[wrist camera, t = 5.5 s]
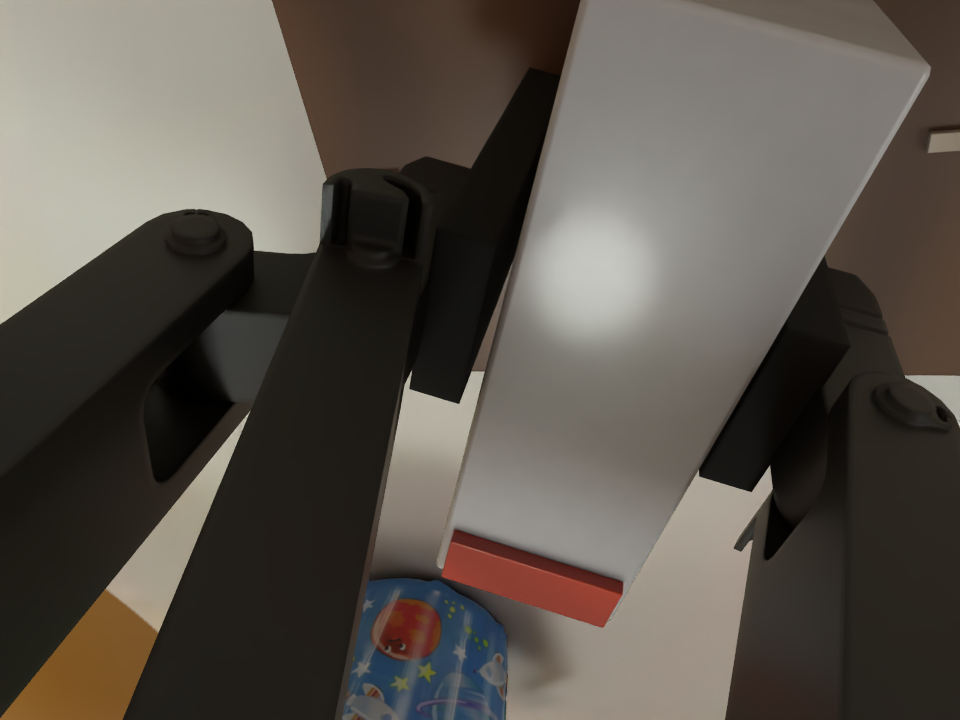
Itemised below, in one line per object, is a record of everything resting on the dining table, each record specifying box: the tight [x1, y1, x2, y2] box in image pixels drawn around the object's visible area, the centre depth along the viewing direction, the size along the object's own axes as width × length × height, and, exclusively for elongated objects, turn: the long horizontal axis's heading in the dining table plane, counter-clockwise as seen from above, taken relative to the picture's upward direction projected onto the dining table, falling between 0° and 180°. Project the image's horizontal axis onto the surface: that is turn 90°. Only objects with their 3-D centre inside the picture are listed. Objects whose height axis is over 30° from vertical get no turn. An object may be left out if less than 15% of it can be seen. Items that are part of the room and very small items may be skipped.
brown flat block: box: [272, 0, 960, 376], centre depth 16 cm, size 14×13×3 cm
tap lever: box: [436, 0, 931, 628], centre depth 12 cm, size 9×3×8 cm, turn 169°
